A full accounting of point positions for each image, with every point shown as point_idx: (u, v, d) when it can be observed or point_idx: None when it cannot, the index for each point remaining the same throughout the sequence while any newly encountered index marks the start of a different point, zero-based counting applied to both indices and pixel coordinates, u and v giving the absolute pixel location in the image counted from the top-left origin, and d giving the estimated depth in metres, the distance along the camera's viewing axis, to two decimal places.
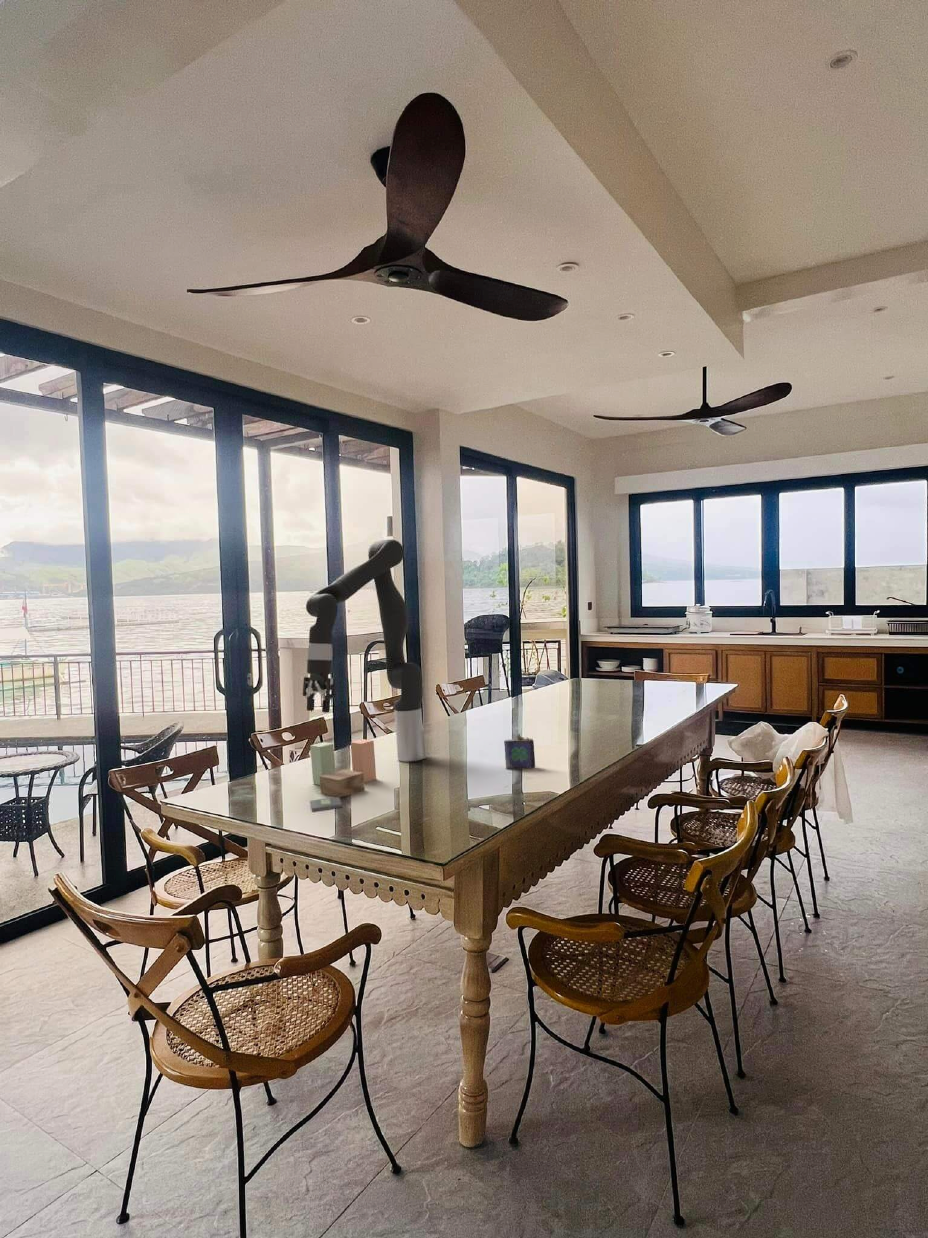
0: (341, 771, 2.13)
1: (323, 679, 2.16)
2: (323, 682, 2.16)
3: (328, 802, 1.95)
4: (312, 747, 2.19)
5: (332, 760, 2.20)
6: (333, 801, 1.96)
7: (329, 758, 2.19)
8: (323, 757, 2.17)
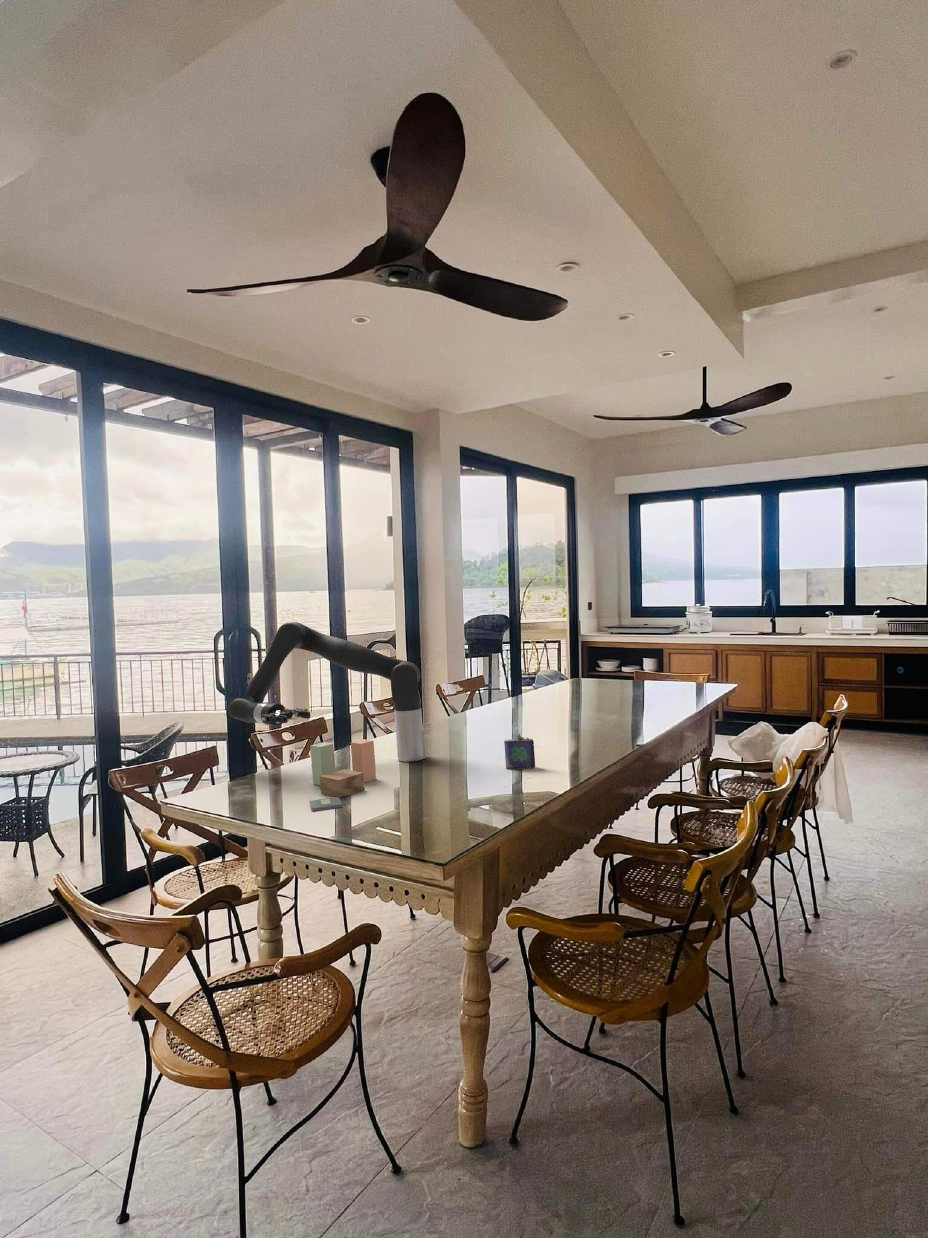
0: (341, 771, 2.13)
1: None
2: None
3: (328, 802, 1.95)
4: (312, 747, 2.19)
5: (332, 760, 2.20)
6: (333, 801, 1.96)
7: (329, 758, 2.19)
8: (323, 757, 2.17)
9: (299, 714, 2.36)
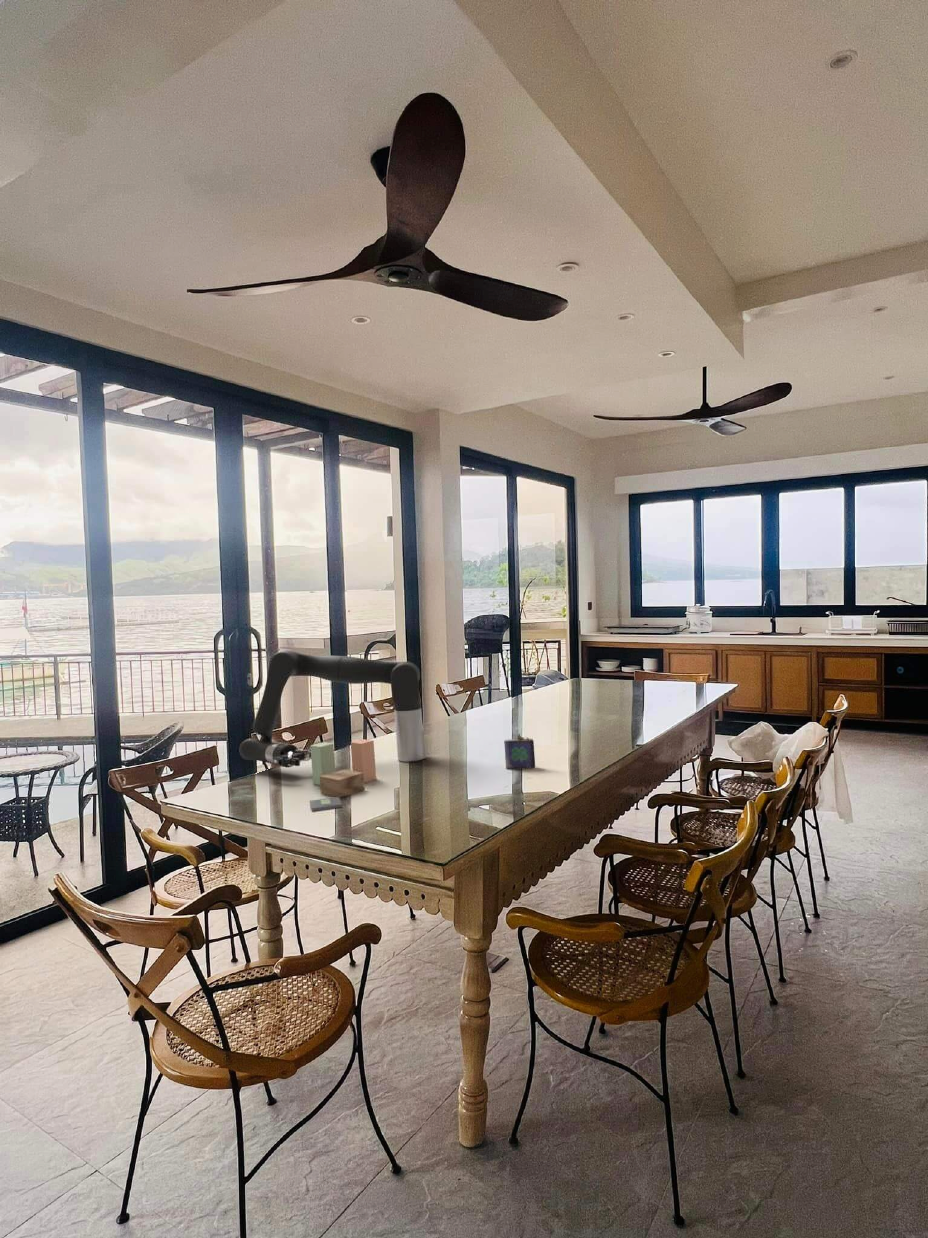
0: (341, 771, 2.13)
1: None
2: None
3: (328, 802, 1.95)
4: (312, 747, 2.19)
5: (332, 760, 2.20)
6: (333, 801, 1.96)
7: (329, 758, 2.19)
8: (323, 757, 2.17)
9: None
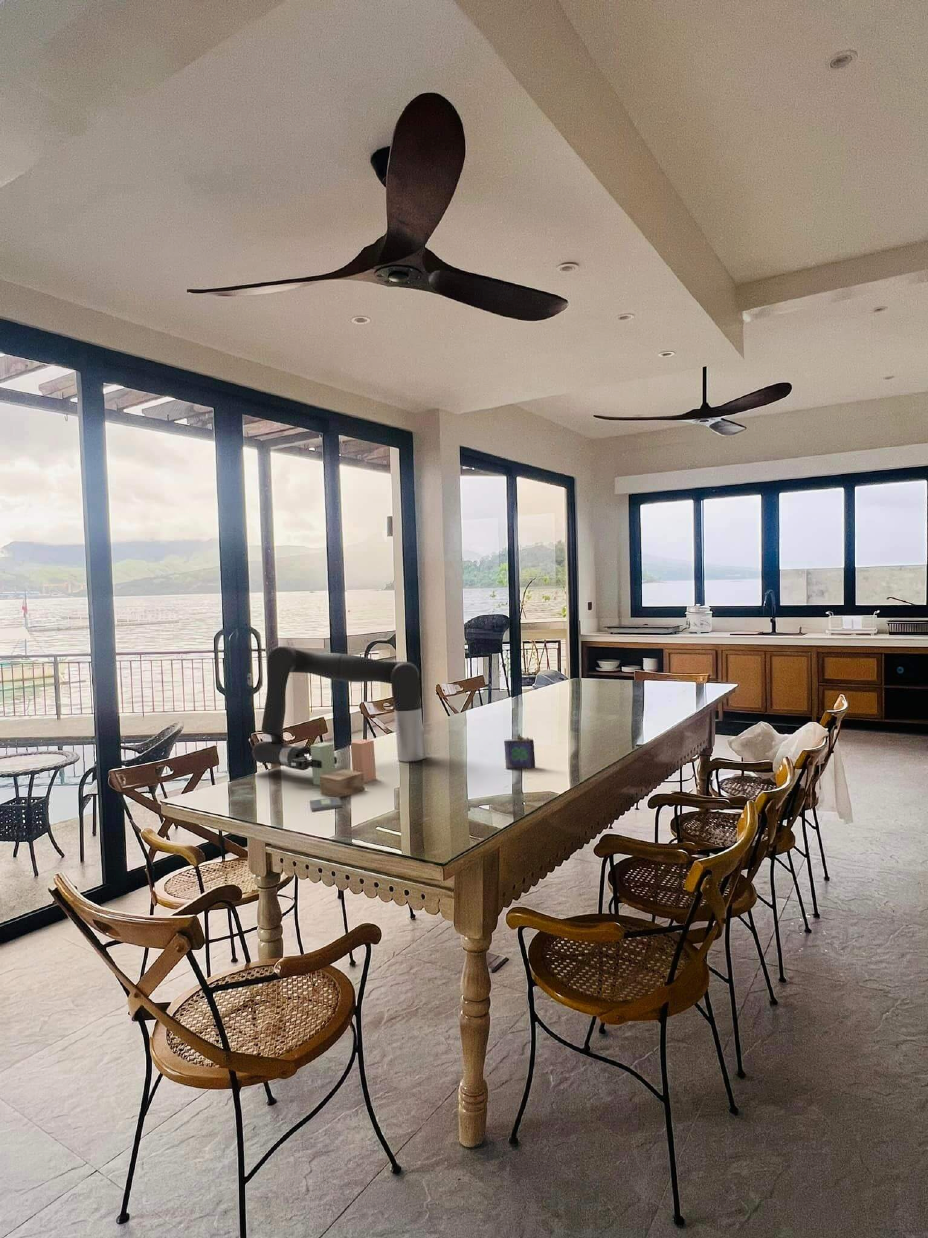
0: (341, 771, 2.13)
1: None
2: None
3: (328, 802, 1.95)
4: (312, 747, 2.19)
5: (332, 760, 2.20)
6: (333, 801, 1.96)
7: (329, 758, 2.19)
8: (323, 757, 2.17)
9: None
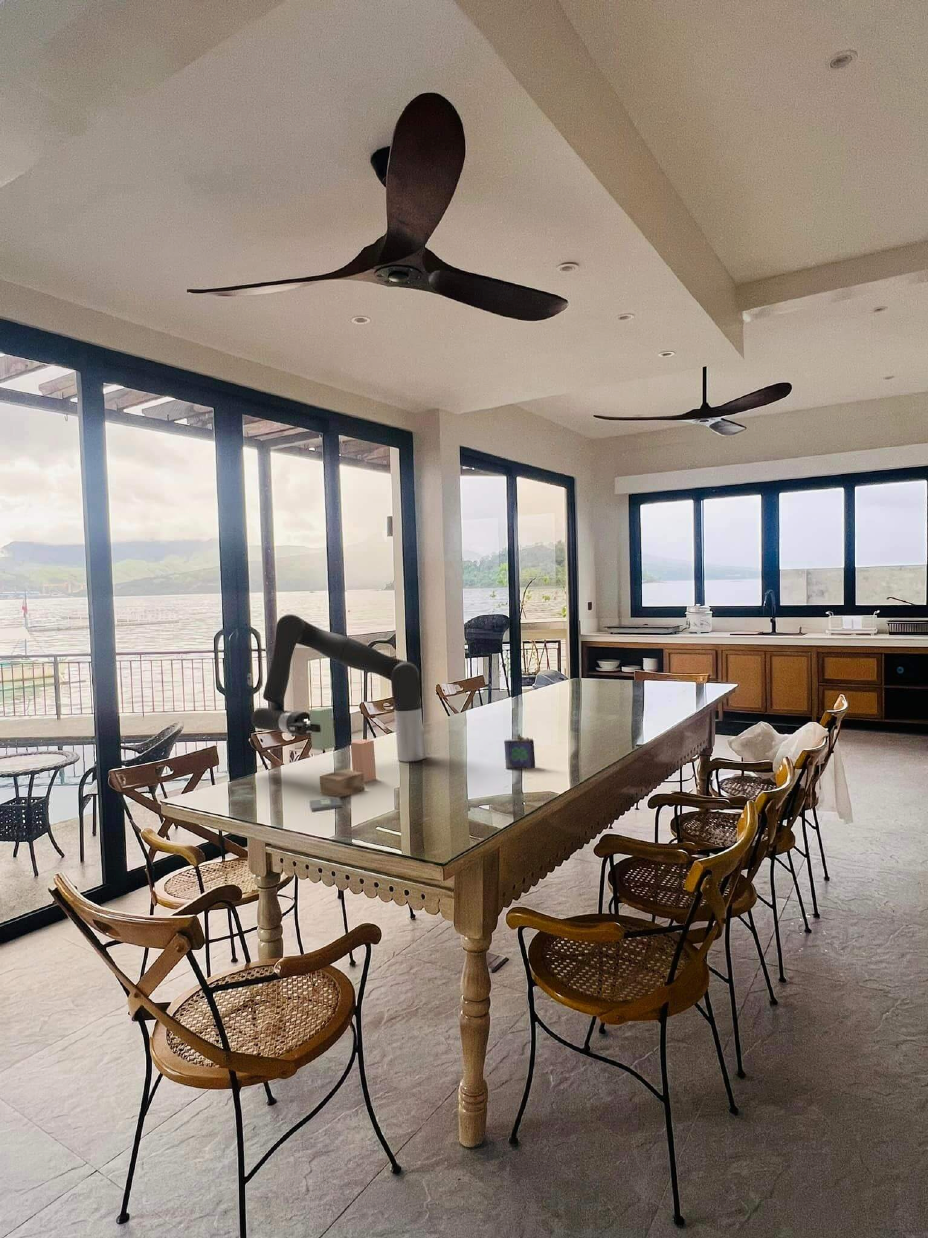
0: (341, 771, 2.13)
1: None
2: None
3: (328, 802, 1.95)
4: (311, 711, 2.18)
5: (331, 724, 2.18)
6: (333, 801, 1.96)
7: (328, 723, 2.17)
8: (322, 721, 2.16)
9: None
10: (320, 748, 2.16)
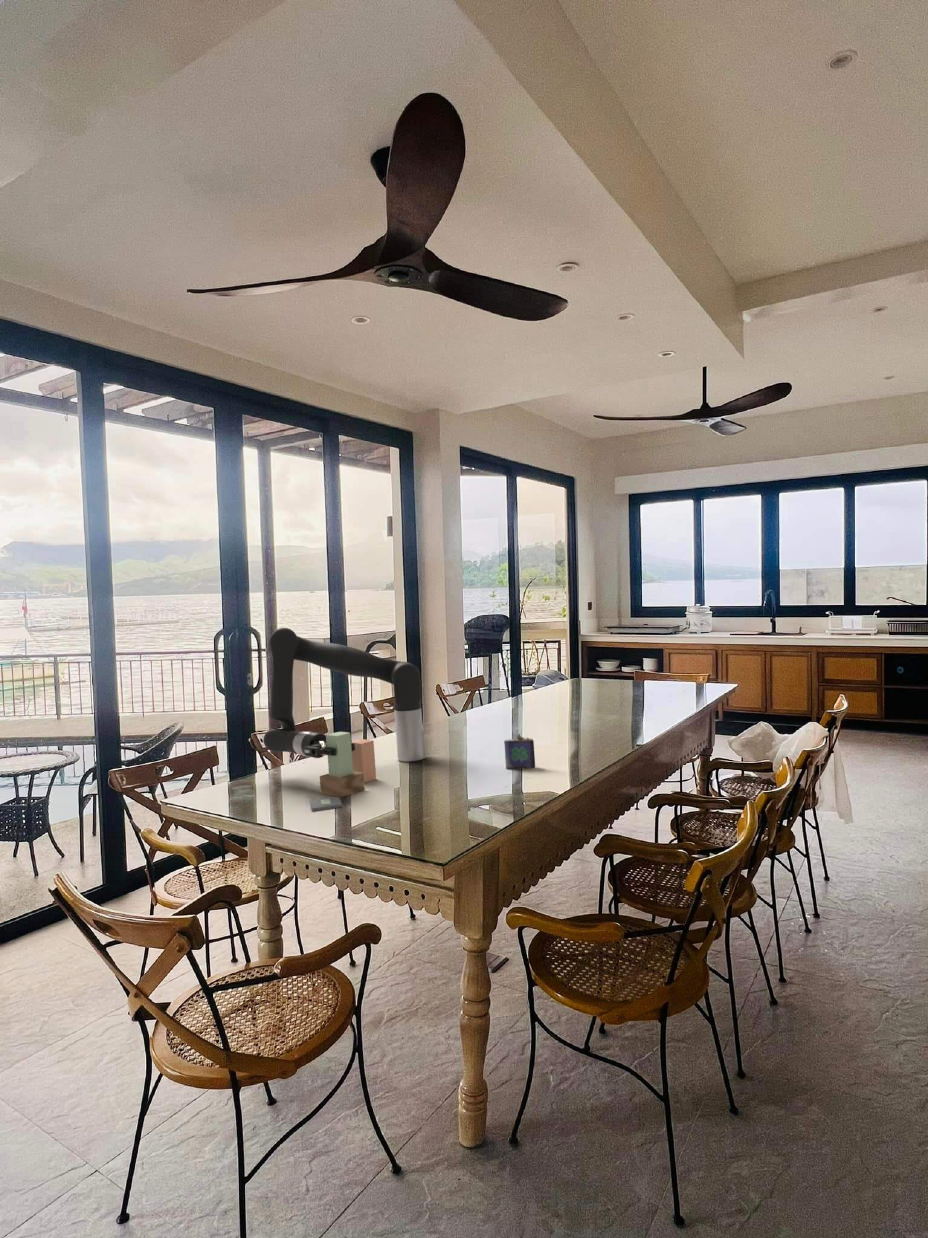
0: None
1: None
2: (314, 752, 2.11)
3: (328, 802, 1.95)
4: (328, 736, 2.08)
5: (349, 750, 2.08)
6: (333, 801, 1.96)
7: (346, 748, 2.07)
8: (339, 747, 2.06)
9: None
10: (338, 775, 2.06)
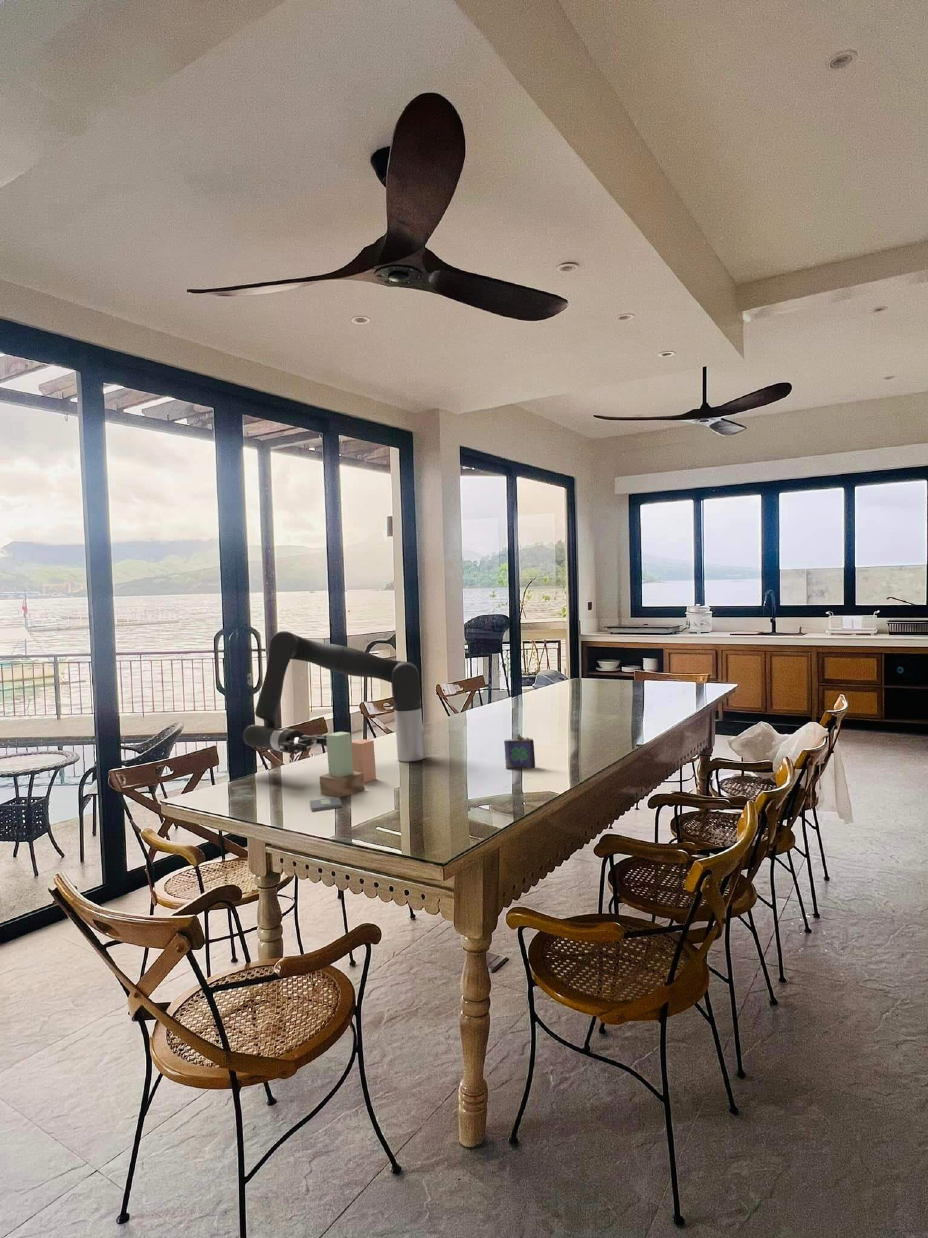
0: None
1: None
2: None
3: (328, 802, 1.95)
4: (328, 736, 2.08)
5: (349, 750, 2.08)
6: (333, 801, 1.96)
7: (346, 748, 2.07)
8: (339, 747, 2.06)
9: (318, 741, 2.25)
10: (338, 775, 2.06)
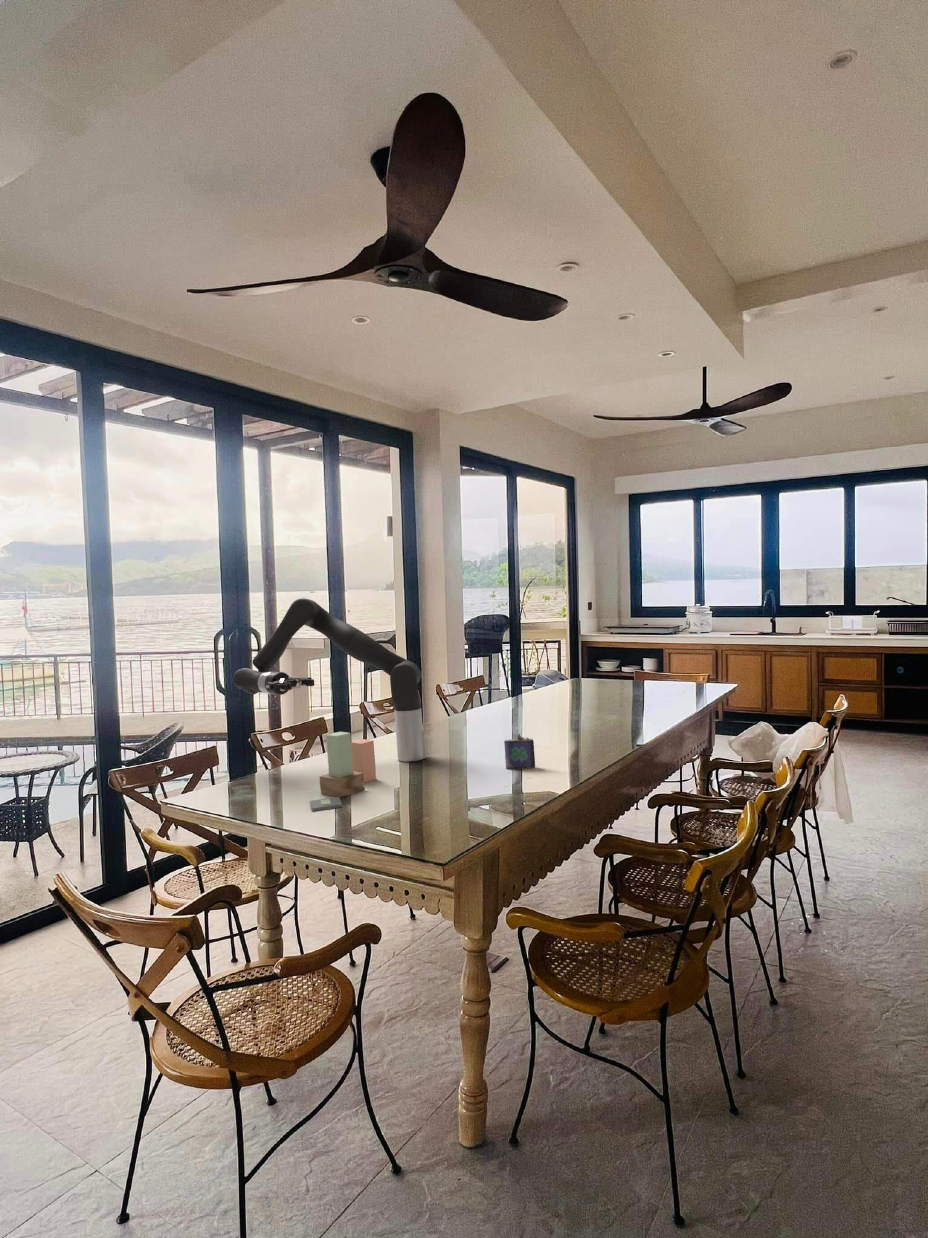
0: None
1: None
2: None
3: (328, 802, 1.95)
4: (328, 736, 2.08)
5: (349, 750, 2.08)
6: (333, 801, 1.96)
7: (346, 748, 2.07)
8: (339, 747, 2.06)
9: (303, 683, 2.37)
10: (338, 775, 2.06)
